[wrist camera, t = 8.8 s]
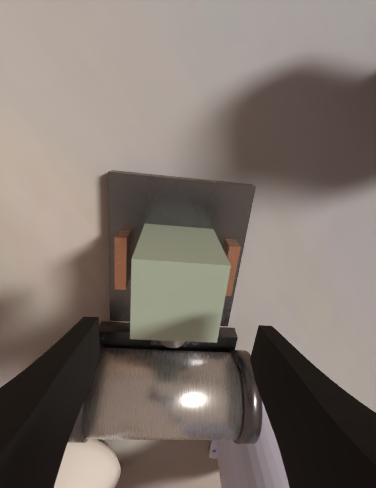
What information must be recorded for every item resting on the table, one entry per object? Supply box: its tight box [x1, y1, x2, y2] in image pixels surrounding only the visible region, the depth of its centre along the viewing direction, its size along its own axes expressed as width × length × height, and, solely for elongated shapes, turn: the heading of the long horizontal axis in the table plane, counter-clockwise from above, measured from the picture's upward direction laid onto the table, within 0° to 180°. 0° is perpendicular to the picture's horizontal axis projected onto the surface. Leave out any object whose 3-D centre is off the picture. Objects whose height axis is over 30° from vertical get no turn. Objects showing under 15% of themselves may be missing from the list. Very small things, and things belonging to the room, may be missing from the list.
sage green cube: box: [130, 224, 231, 348], centre depth 16 cm, size 7×5×6 cm
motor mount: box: [68, 170, 262, 444], centre depth 18 cm, size 19×13×7 cm
